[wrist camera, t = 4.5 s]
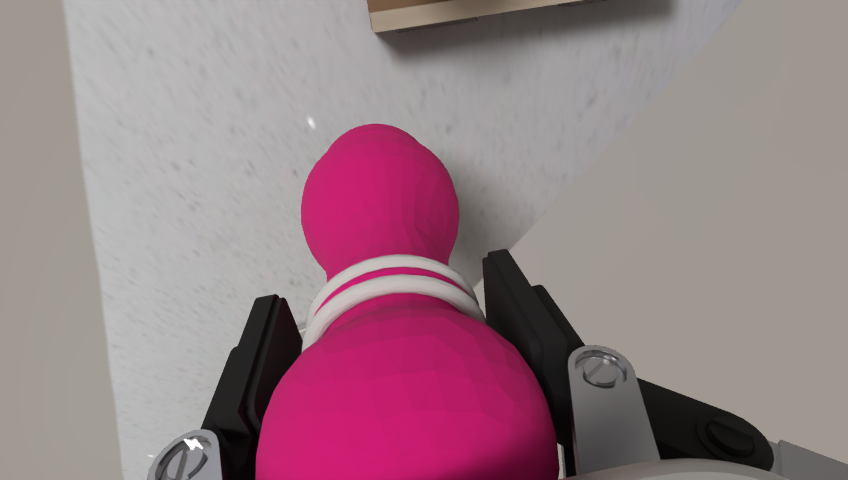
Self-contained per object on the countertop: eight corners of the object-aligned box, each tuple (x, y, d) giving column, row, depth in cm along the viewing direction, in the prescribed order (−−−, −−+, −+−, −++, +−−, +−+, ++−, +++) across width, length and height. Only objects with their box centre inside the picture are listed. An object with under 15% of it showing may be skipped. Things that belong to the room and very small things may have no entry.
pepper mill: (463, 186, 23) (791, 697, 5) (370, 255, 24) (400, 835, 7) (386, 83, 19) (619, 591, 2) (283, 171, 21) (-95, 910, 3)
